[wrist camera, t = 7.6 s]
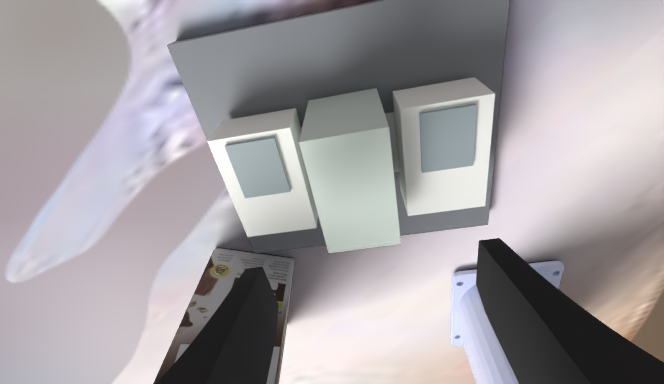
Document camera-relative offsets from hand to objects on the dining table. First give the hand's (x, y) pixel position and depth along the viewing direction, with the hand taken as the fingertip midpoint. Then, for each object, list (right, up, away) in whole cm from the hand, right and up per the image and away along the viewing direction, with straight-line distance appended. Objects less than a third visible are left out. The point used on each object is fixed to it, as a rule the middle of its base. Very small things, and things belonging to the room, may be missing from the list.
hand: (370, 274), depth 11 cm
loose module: (0, +5, +7) cm, 9 cm away
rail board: (0, +6, +9) cm, 10 cm away
